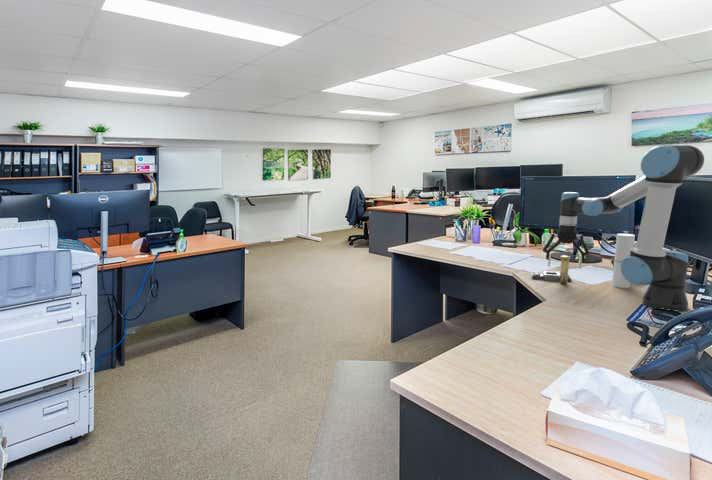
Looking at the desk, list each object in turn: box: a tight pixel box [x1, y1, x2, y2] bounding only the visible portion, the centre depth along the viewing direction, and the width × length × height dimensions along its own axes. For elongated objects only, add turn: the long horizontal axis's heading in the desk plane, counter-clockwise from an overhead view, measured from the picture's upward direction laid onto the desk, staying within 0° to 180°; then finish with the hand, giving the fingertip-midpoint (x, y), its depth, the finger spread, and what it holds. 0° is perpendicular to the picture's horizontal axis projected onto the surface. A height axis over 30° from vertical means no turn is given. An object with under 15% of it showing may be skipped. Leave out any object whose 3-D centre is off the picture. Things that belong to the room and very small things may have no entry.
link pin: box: [559, 255, 571, 285], centre depth 203 cm, size 4×4×14 cm
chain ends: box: [531, 270, 572, 283], centre depth 213 cm, size 18×7×3 cm, turn 70°
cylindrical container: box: [611, 233, 636, 289], centre depth 197 cm, size 7×7×25 cm
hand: (564, 267), depth 203 cm, fingers open, 13 cm apart
